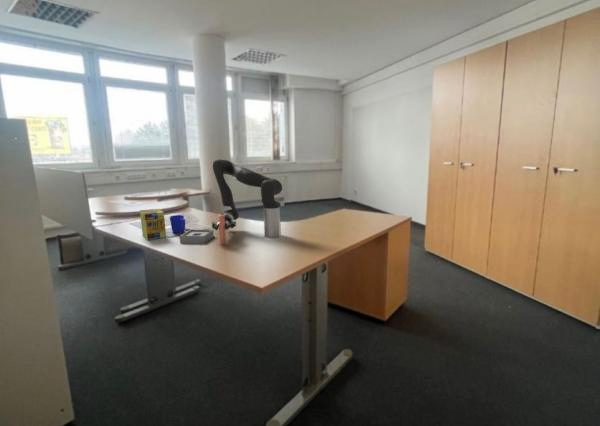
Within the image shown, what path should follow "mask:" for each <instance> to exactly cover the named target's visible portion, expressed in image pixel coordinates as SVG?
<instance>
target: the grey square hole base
mask: <svg viewBox="0 0 600 426" xmlns="http://www.w3.org/2000/svg"><path fill="white" fill-rule="evenodd" d="M214 237H215V234H214V229H189V230H188V231H185V232H184V233H182V234H180V235H179V242H180V244H205V243H207V242H208V241H210V240H211V239H212V238H214Z"/></svg>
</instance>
